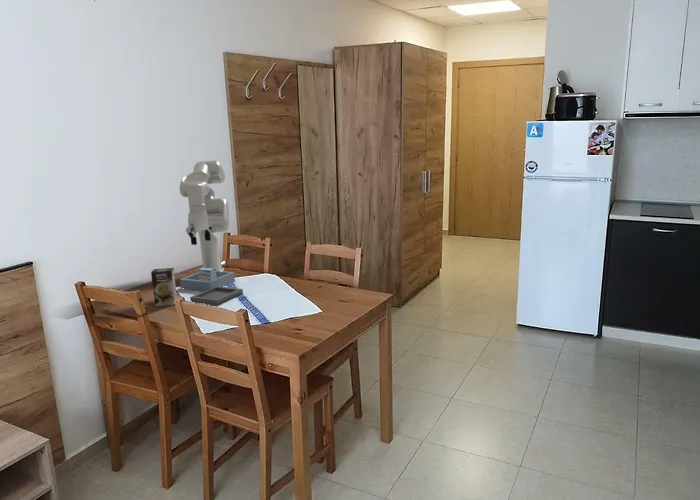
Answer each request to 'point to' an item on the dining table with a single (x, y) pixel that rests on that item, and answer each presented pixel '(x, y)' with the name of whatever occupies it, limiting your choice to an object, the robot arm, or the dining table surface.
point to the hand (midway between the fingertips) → (201, 242)
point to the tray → (217, 295)
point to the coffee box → (164, 286)
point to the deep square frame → (196, 284)
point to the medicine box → (207, 274)
